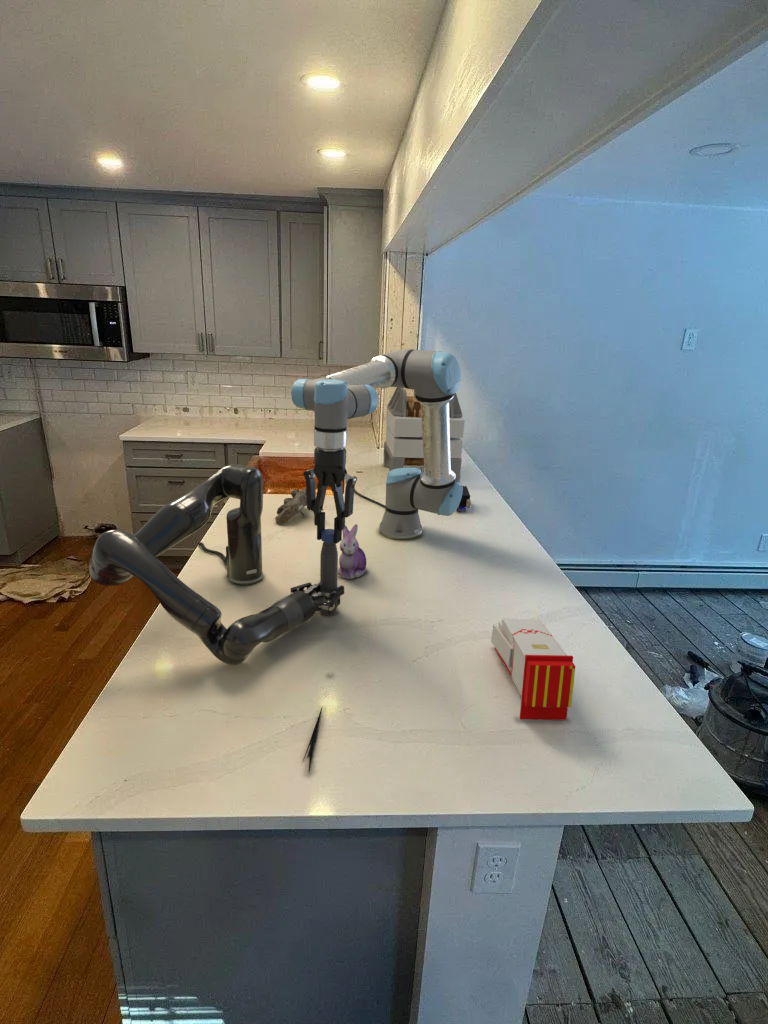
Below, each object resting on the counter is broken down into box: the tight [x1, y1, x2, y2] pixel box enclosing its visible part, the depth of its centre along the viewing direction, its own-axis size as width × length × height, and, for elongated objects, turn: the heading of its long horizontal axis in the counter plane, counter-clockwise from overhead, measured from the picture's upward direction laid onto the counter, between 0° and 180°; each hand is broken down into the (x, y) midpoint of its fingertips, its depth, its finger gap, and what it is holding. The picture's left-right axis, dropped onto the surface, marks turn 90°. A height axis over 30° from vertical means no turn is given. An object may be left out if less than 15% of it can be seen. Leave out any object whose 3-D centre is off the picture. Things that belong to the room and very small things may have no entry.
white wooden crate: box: [383, 387, 465, 483], centre depth 268 cm, size 34×33×41 cm
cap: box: [320, 528, 334, 543], centre depth 140 cm, size 4×4×2 cm
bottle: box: [319, 541, 339, 616], centre depth 144 cm, size 4×4×22 cm
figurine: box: [338, 523, 368, 580], centre depth 166 cm, size 9×10×15 cm
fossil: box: [274, 488, 307, 525], centre depth 211 cm, size 22×10×15 cm
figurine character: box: [456, 485, 472, 513], centre depth 228 cm, size 7×8×15 cm
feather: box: [301, 673, 332, 771], centre depth 108 cm, size 2×28×2 cm
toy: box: [490, 617, 576, 721], centre depth 122 cm, size 12×13×30 cm
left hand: (335, 586), depth 148 cm, fingers closed on bottle, 4 cm apart
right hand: (329, 539), depth 141 cm, fingers closed on cap, 4 cm apart
